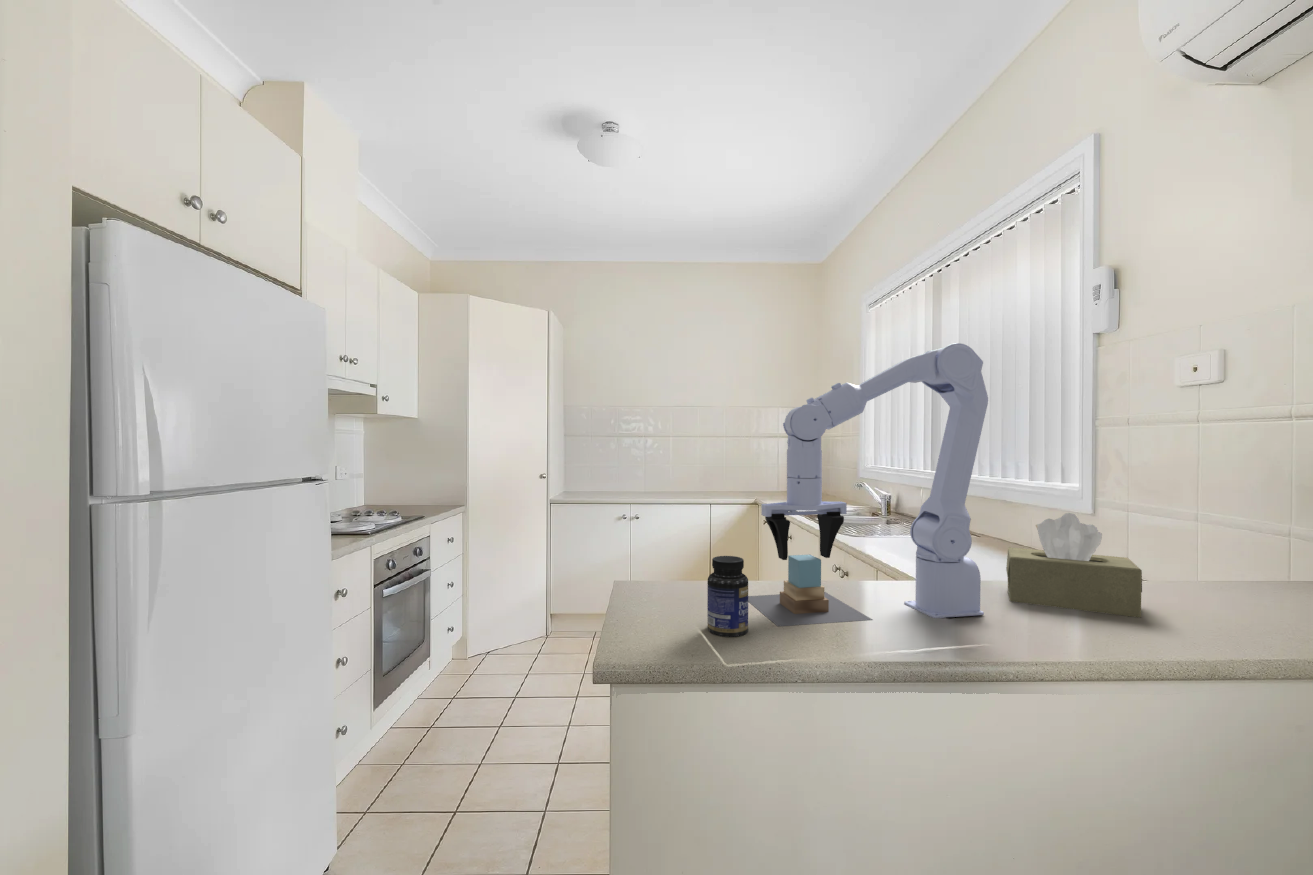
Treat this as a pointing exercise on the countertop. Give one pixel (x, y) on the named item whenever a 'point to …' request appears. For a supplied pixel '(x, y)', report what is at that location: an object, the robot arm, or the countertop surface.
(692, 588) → the countertop surface
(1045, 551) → the tissue box
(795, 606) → the tower base
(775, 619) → the mat
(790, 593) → the tower mid
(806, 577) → the block
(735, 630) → the pill bottle
